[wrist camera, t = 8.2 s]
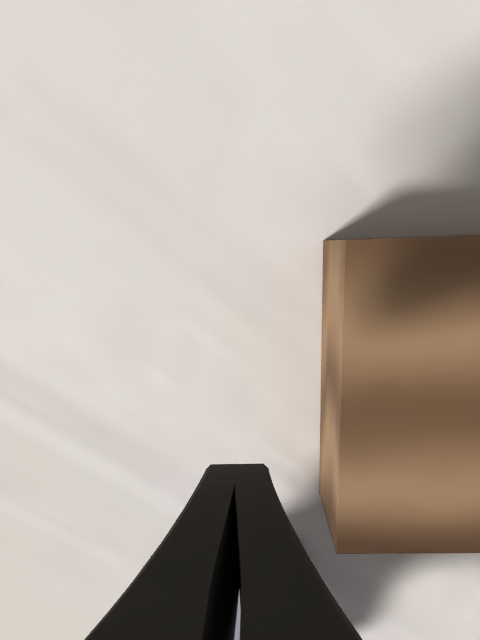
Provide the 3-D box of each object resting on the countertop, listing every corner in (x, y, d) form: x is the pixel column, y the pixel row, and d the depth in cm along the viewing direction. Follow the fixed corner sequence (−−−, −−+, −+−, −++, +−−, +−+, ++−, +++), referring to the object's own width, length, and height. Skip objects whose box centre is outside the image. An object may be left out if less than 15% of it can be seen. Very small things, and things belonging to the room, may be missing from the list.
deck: (499, 490, 20) (561, 552, 16) (319, 492, 20) (336, 553, 16) (536, 232, 16) (625, 229, 13) (323, 240, 17) (345, 239, 13)
